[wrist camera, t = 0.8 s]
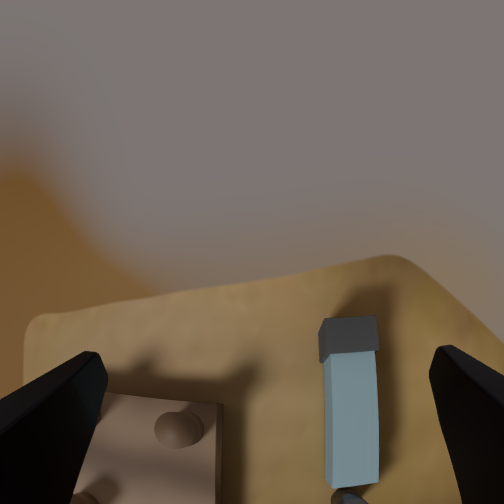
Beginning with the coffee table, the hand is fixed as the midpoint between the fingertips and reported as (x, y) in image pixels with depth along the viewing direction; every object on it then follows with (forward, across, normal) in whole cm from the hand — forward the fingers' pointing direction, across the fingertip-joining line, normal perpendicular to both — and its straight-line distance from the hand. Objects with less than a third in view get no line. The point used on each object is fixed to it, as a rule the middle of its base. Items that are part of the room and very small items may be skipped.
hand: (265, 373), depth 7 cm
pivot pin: (+4, -5, +18) cm, 19 cm away
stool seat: (+6, +10, +17) cm, 20 cm away
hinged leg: (+10, -5, +13) cm, 17 cm away
